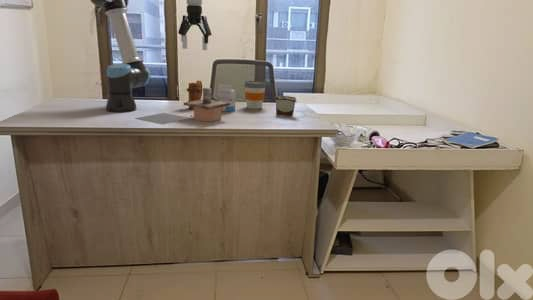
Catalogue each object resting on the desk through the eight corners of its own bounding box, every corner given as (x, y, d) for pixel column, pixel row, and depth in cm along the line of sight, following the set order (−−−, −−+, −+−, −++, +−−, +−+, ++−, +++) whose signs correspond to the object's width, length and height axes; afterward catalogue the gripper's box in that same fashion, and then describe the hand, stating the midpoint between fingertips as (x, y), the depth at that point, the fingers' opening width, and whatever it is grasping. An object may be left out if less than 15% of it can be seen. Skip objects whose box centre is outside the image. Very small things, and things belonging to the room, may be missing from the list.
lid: (183, 105, 186) (183, 88, 184) (205, 101, 200) (205, 85, 197) (209, 109, 179) (209, 91, 176) (229, 105, 192) (230, 88, 189)
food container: (298, 115, 211) (300, 97, 208) (294, 117, 205) (296, 98, 203) (278, 112, 216) (279, 95, 213) (273, 114, 210) (274, 96, 207)
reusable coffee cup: (268, 107, 230) (270, 82, 225) (257, 110, 219) (258, 84, 215) (251, 105, 236) (252, 80, 232) (239, 107, 226) (240, 81, 222)
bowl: (188, 119, 189) (188, 105, 187) (205, 115, 200) (205, 102, 198) (208, 123, 183) (208, 108, 181) (225, 119, 193) (225, 105, 191)
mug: (198, 110, 211) (198, 83, 207) (184, 109, 212) (184, 82, 208) (207, 106, 225) (207, 80, 220) (194, 105, 226) (194, 79, 222)
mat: (134, 119, 183) (133, 118, 183) (163, 113, 199) (163, 112, 198) (162, 125, 174) (162, 124, 174) (191, 119, 189) (191, 118, 189)
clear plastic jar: (235, 110, 216) (236, 84, 212) (231, 112, 211) (232, 85, 207) (222, 109, 219) (222, 83, 215) (217, 110, 214) (218, 83, 210)
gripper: (170, 4, 194) (171, 48, 200) (208, 4, 182) (208, 50, 188) (181, 6, 200) (181, 48, 206) (218, 6, 188) (218, 50, 194)
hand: (194, 49), depth 197 cm, fingers open, 13 cm apart
